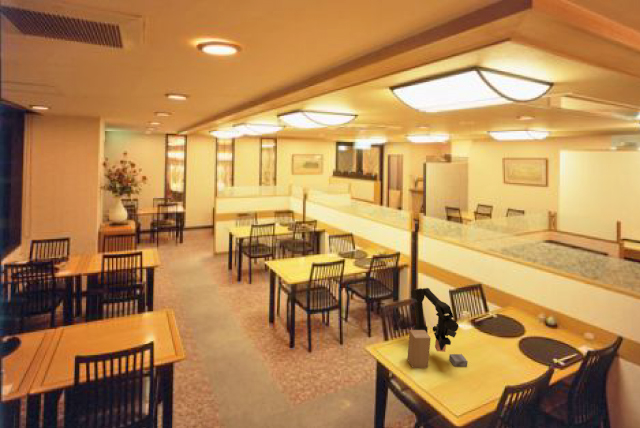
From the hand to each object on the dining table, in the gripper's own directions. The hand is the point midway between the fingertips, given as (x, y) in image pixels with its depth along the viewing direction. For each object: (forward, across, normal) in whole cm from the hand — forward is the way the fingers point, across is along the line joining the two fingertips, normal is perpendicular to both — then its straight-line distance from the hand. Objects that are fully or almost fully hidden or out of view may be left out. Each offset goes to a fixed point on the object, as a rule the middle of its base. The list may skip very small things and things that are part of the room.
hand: (440, 347), depth 226 cm
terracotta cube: (+1, 0, 0) cm, 1 cm away
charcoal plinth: (+10, 0, -12) cm, 16 cm away
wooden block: (+10, -3, +14) cm, 17 cm away
